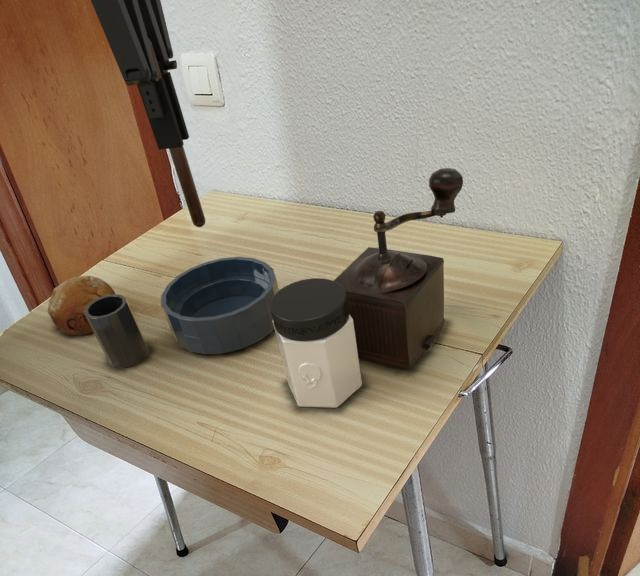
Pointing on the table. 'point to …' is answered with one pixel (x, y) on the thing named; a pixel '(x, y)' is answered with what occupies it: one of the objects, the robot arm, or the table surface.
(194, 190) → the stick
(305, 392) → the jar
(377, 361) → the manual coffee grinder
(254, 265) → the bowl
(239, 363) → the table surface
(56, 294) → the bread roll
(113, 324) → the holder
